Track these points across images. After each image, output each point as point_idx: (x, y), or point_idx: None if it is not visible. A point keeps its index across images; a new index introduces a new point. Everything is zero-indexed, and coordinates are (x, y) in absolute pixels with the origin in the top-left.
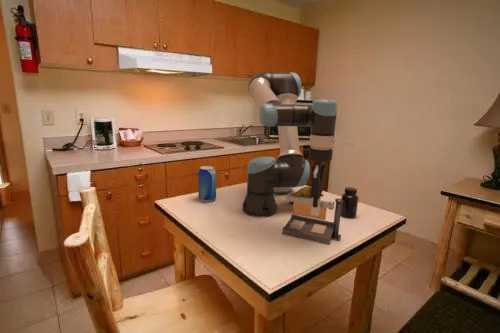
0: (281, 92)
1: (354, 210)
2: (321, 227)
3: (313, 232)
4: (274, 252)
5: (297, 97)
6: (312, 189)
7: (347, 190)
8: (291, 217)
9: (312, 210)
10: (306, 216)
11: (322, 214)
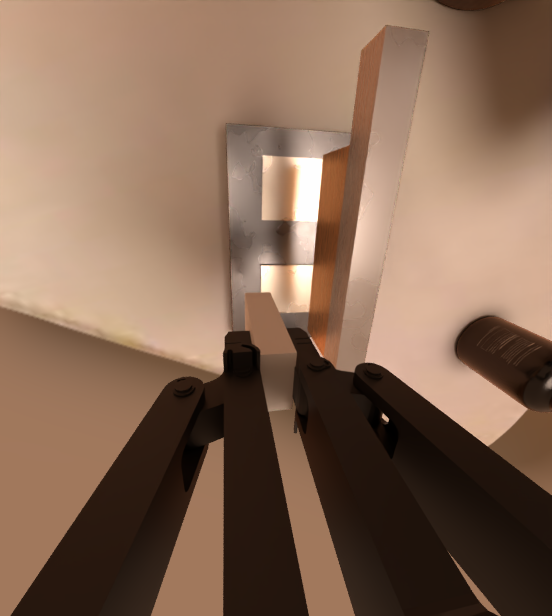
0: None
1: (481, 375)
2: None
3: (260, 276)
4: (31, 144)
5: None
6: (109, 489)
7: None
8: None
9: (247, 313)
10: (316, 241)
11: (317, 329)
